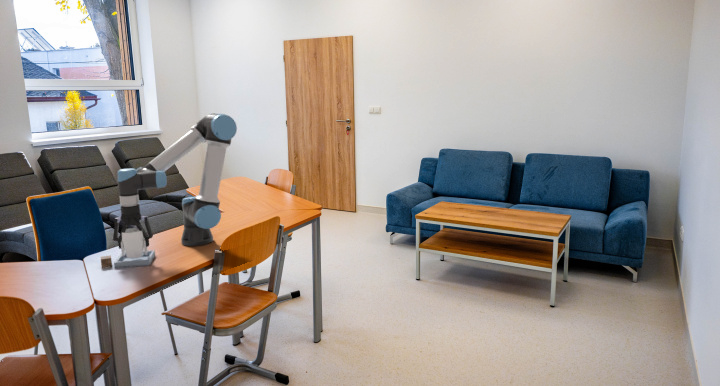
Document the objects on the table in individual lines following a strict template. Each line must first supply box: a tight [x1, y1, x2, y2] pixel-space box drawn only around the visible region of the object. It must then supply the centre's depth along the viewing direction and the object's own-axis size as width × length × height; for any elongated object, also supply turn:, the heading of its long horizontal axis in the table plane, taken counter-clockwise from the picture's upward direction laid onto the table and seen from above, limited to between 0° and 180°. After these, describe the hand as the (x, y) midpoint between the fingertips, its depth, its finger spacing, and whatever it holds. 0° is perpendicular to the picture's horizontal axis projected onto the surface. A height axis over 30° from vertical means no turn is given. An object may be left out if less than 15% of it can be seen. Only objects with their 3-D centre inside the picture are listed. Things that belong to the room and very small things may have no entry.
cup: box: [122, 227, 144, 259], centre depth 219 cm, size 9×9×12 cm
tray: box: [113, 249, 156, 269], centre depth 220 cm, size 14×14×2 cm
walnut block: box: [100, 255, 113, 269], centre depth 215 cm, size 4×4×4 cm
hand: (135, 254), depth 220 cm, fingers closed on cup, 8 cm apart
